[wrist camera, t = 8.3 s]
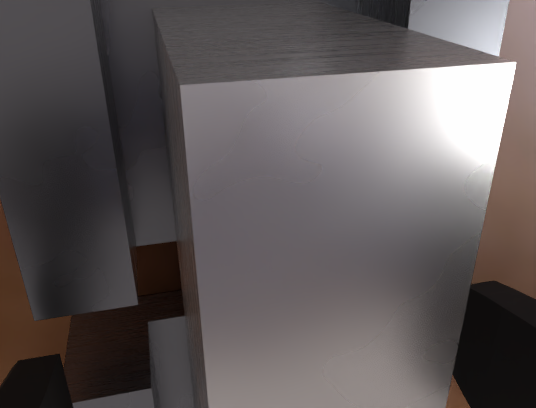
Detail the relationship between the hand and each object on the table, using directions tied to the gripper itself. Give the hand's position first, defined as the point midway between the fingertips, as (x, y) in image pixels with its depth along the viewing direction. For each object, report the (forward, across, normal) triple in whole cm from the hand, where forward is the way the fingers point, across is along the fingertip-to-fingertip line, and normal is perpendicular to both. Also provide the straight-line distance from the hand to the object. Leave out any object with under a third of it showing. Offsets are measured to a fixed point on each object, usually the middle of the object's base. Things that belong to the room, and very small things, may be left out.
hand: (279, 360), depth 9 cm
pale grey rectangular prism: (+3, 0, 0) cm, 3 cm away
